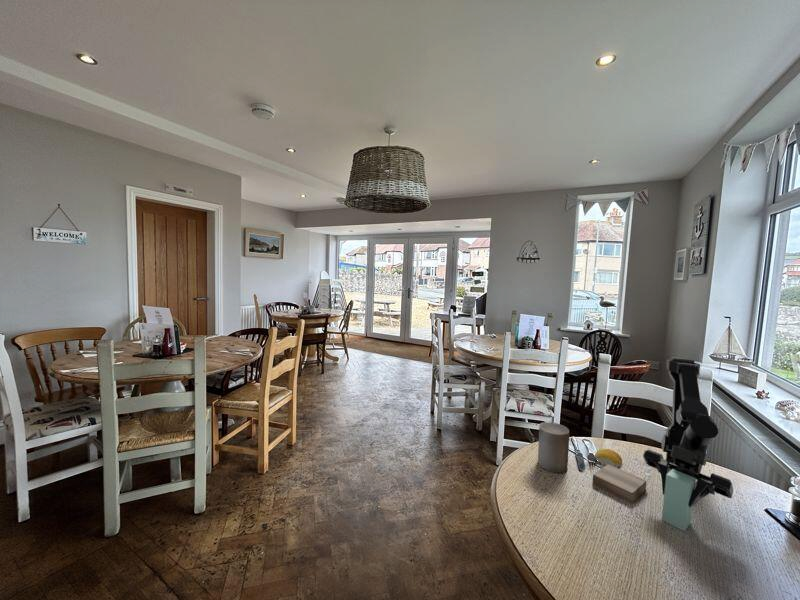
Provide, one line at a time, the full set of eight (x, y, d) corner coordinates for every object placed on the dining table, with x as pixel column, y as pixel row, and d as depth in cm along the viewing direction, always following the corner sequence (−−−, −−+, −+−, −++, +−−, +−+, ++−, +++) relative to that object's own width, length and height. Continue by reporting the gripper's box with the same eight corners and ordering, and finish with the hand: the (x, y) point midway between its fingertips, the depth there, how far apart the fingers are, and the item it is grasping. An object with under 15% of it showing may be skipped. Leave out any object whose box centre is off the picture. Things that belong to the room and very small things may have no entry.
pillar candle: (570, 465, 117) (573, 424, 116) (562, 477, 110) (565, 433, 109) (542, 455, 124) (544, 416, 123) (533, 466, 116) (535, 424, 115)
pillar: (667, 512, 94) (672, 468, 93) (690, 523, 90) (695, 478, 89) (661, 519, 92) (666, 474, 91) (684, 531, 87) (689, 484, 86)
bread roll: (623, 461, 121) (624, 450, 121) (618, 471, 115) (619, 460, 115) (597, 452, 127) (598, 442, 127) (591, 461, 121) (592, 450, 120)
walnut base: (607, 472, 113) (608, 464, 113) (645, 489, 105) (646, 480, 104) (592, 483, 107) (593, 474, 107) (631, 502, 98) (632, 493, 98)
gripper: (648, 422, 99) (629, 469, 94) (735, 450, 84) (719, 508, 78) (655, 441, 104) (638, 486, 99) (739, 470, 89) (724, 526, 84)
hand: (676, 500), depth 90 cm, fingers closed on pillar, 5 cm apart
